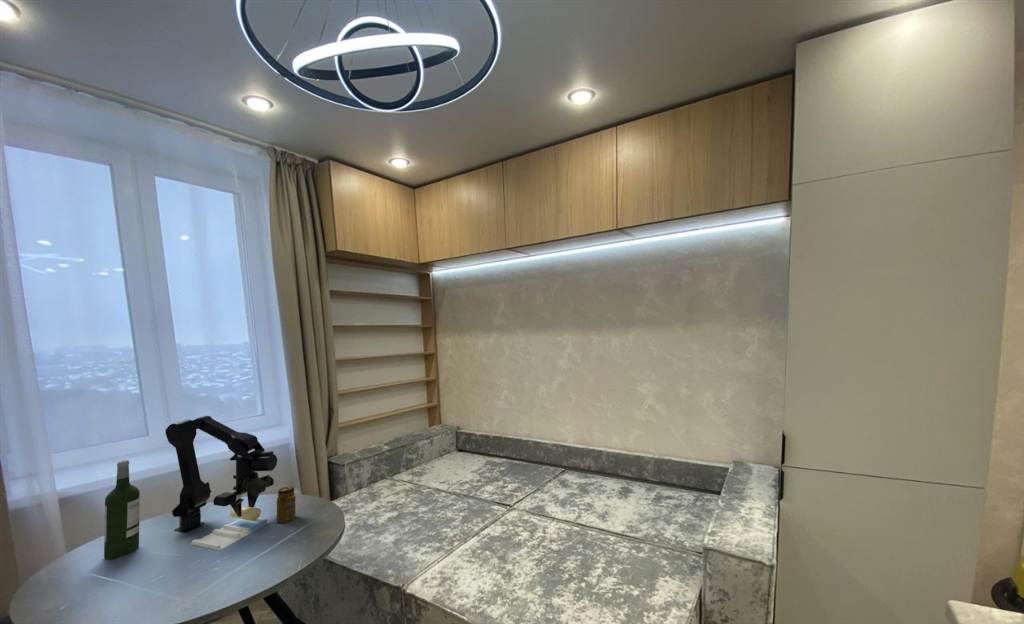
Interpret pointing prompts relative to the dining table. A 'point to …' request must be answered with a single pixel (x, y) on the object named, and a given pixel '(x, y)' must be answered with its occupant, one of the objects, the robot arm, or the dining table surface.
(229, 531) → the white slotted organizer tray
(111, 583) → the dining table surface
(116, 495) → the wine bottle
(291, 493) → the condiment
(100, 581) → the dining table surface
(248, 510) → the cream soap bar
